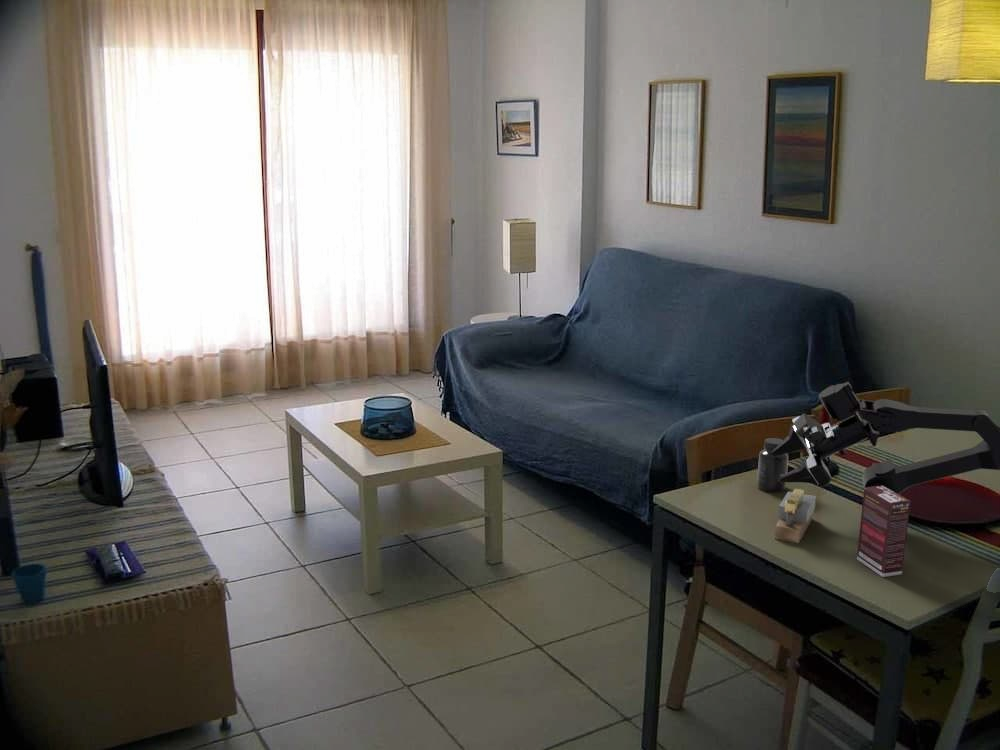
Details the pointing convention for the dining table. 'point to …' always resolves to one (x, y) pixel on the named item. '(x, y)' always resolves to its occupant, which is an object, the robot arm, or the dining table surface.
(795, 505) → the tan rectangular bar
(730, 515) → the dining table surface
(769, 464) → the supplement bottle
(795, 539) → the key box
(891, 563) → the supplement box
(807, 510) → the cover
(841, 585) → the dining table surface
